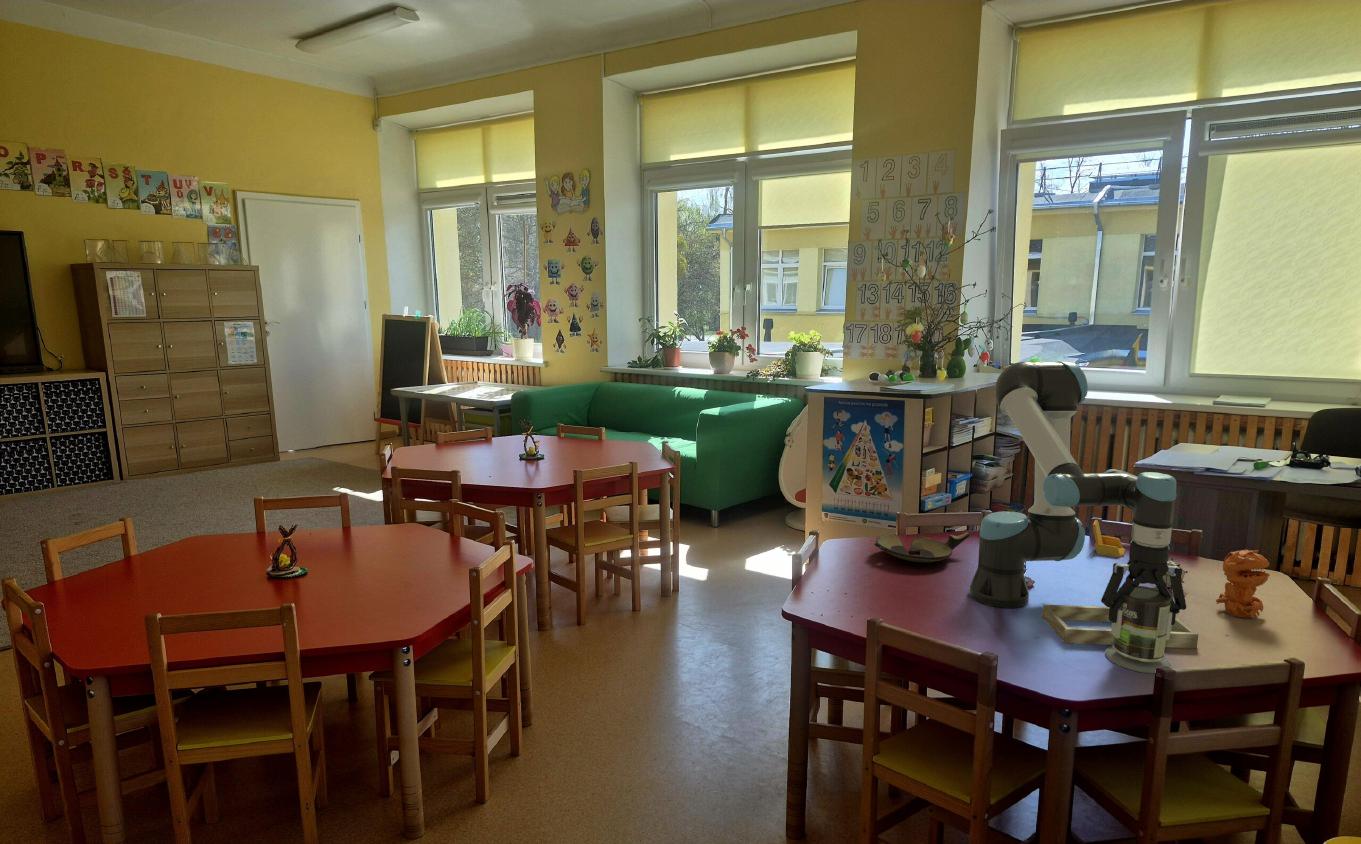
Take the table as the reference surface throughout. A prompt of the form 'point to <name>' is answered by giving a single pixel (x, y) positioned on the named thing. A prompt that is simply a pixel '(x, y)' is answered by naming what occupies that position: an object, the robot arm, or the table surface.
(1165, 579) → the game die
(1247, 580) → the toy dinosaur
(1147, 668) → the trivet
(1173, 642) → the frame
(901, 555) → the oil lamp
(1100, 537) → the yellow toy chair
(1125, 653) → the coffee can
